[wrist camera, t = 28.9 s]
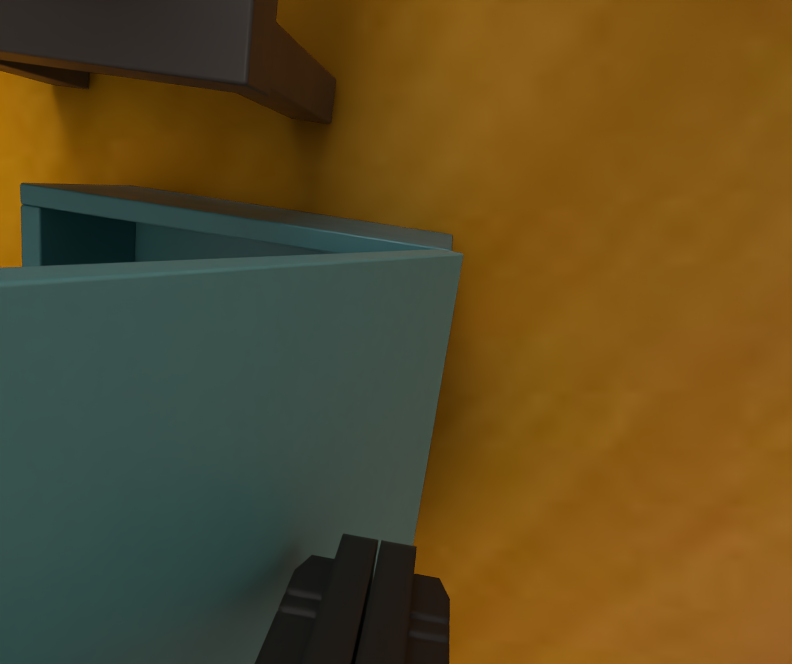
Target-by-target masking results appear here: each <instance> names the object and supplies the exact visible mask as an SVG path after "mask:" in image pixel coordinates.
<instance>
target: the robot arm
mask: <svg viewBox="0 0 792 664" xmlns="http://www.w3.org/2000/svg"><path fill="white" fill-rule="evenodd" d="M377 548H378V540H377V539H372V538H366V537H361V536H355V535H350V534H344V533H343V535H342V538H341V541H340V544H339V547H338V550H337V553H336V556H335V559H332V558H327V557H321V556H316V555H311V556H310V557H309V558H308V559H307V560H305V561H304V562H303V563H302V564H301V565H300V566H298V567H297V568H296V569H295V570H294V572H293V574H292V577H291V579H290V581H289V584H288V586H287V589H286V592H285V594H284V596H283V598H282V600H281V603H280V605H279V608H278V611H277V612H276V614H275V617H274V619H273V621H272V624H271V626H270V629H269V631H268V633H267V636H266V638H265V640H264V643H263V645H262V647H261V650H260V652H259V654H258V657H257V659H256V661H255V664H449V621H450V598H449V597H448V595H447V593H446V591H445V589H444V587H443V585H442V583H441V581H440V579H439V578H435V577H430V576H424V575H419V574H414V567H415V558H416V548H417V547H416V546H411V545H405V544H400V543H394V542H389V541H383V540H381V544H380V549H379V554H378V558H377V563H376V568H375V562H376V555H377ZM374 569H375V573H374ZM373 575H374V577H373Z"/></svg>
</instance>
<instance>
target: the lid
mask: <svg viewBox="0 0 792 664" xmlns="http://www.w3.org/2000/svg"><path fill="white" fill-rule="evenodd" d="M462 260H463V254H462V253H458V252H453V251H449V250H444V249H430V250H407V251H383V252H360V253H336V254H313V255H289V256H266V257H242V258H219V259H195V260H172V261H148V262H125V263H101V264H78V265H54V266H31V267H8V268H0V664H255V661H256V659H257V657H258V654H259V652H260V650H261V647H262V645H263V643H264V640H265V638H266V636H267V633H268V631H269V629H270V626H271V624H272V621H273V619H274V617H275V614H276V612H277V611H278V608H279V605H280V603H281V600H282V598H283V596H284V594H285V592H286V589H287V586H288V584H289V581H290V579H291V577H292V574H293V572H294V570H295V569H296V568H297V567H298V566H300V565H301V564H302V563H303V562H304V561H305V560H307V559H308V558H309V557H310V556H311V555H316V556H321V557H327V558H332V559H335V556H336V553H337V550H338V547H339V544H340V541H341V538H342V535H343V533H344V534H350V535H355V536H361V537H366V538H372V539H377V540H378V548H377V555H376V562H375V568H376V563H377V558H378V554H379V549H380V544H381V540H383V541H389V542H394V543H400V544H405V545H411V546H413V542H414V537H415V531H416V525H417V519H418V514H419V508H420V502H421V496H422V490H423V485H424V479H425V473H426V467H427V462H428V456H429V450H430V444H431V439H432V433H433V427H434V421H435V416H436V410H437V404H438V398H439V392H440V387H441V381H442V375H443V369H444V364H445V358H446V352H447V346H448V341H449V335H450V329H451V323H452V318H453V312H454V306H455V300H456V294H457V289H458V283H459V277H460V271H461V266H462ZM374 573H375V569H374ZM373 577H374V575H373Z"/></svg>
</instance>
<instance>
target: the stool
mask: <svg viewBox="0 0 792 664" xmlns="http://www.w3.org/2000/svg"><path fill="white" fill-rule="evenodd" d="M277 2H278V0H0V71H4V72H7V73H11V74H15V75H18V76H22V77H26V78H30V79H33V80H37V81H41V82H44V83H48V84H53V85H60V86H67V87H74V88H81V89H88V72H92V73H99V74H106V75H113V76H120V77H127V78H134V79H141V80H149V81H156V82H163V83H170V84H177V85H184V86H191V87H198V88H205V89H213V90H220V91H227V92H234V93H237V94H240V95H242V96H244V97H246V98H248V99H250V100H253V101H255V102H257V103H259V104H261V105H264V106H266V107H268V108H270V109H272V110H274V111H277V112H279V113H281V114H283V115H285V116H287V117H290V118H292V119H299V120H306V121H313V122H320V123H327V124H330V123H331V121H332V112H333V103H334V94H335V84H336V80H335V78H334V77H333V76H332V75H331V74H330V73H329V72H327V71H326V70H325V69H324V68H323V67H322V66H321V65H320V64H319V63H318V62H317V61H316V60H315V59H314V58H313V57H312V56H311V55H310V54H309V53H308V52H307V51H306V50H305V49H303V48H302V47H301V46H300V45H299V44H298V43H297V42H296V41H295V40H294V39H293V38H292V37H291V36H290V35H289V34H288V33H287V32H286V31H285V30H284V29H283V28H282V27H281V26H280V25H278V24H277V23H276V15H277Z"/></svg>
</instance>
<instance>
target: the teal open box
mask: <svg viewBox="0 0 792 664" xmlns="http://www.w3.org/2000/svg"><path fill="white" fill-rule="evenodd" d="M20 193H21V203H22V204H24V205H22V206H21V232H22V267H31V266H54V265H78V264H101V263H125V262H148V261H172V260H195V259H219V258H242V257H266V256H289V255H313V254H336V253H360V252H383V251H407V250H430V249H444V250H449V251H452V239H453V236H452V235H451V234H445V233H438V232H432V231H425V230H419V229H412V228H406V227H399V226H393V225H386V224H380V223H373V222H366V221H360V220H353V219H347V218H340V217H334V216H327V215H321V214H314V213H308V212H301V211H295V210H288V209H281V208H275V207H268V206H262V205H255V204H249V203H242V202H236V201H229V200H223V199H216V198H210V197H203V196H197V195H190V194H183V193H177V192H170V191H164V190H157V189H151V188H144V187H138V186H131V185H124V186H123V185H89V184H48V183H21V185H20Z"/></svg>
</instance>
